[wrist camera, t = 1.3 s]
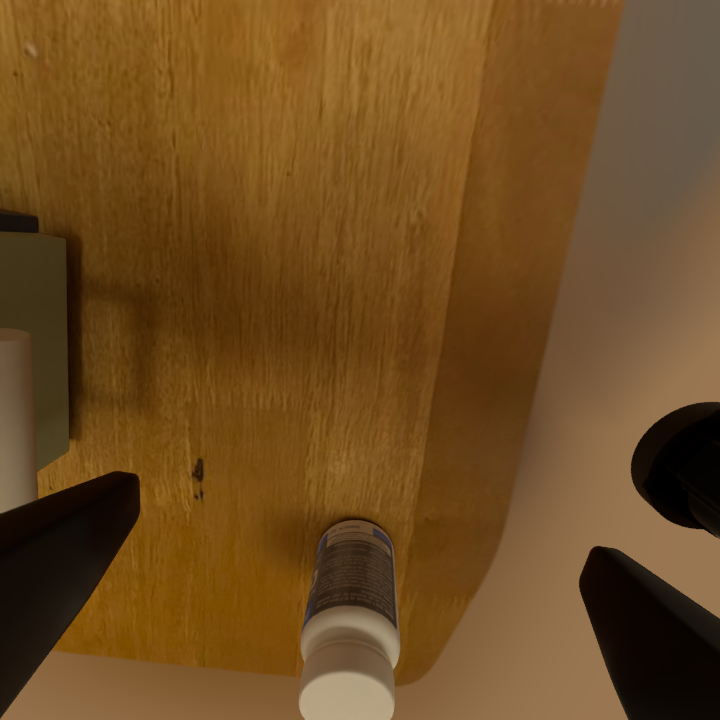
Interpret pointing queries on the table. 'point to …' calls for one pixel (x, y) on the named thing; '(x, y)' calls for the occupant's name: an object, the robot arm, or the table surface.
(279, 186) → the table surface
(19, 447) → the drawer
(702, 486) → the robot arm
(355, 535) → the pill bottle
